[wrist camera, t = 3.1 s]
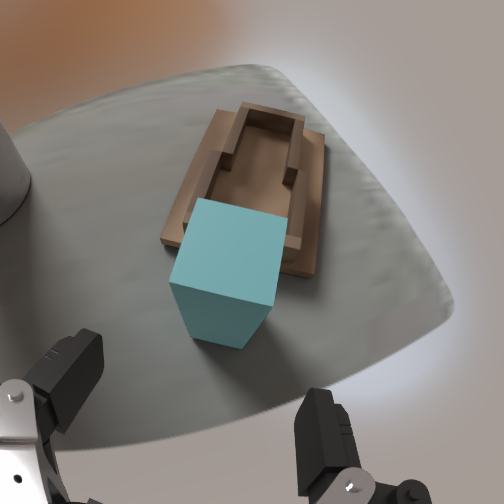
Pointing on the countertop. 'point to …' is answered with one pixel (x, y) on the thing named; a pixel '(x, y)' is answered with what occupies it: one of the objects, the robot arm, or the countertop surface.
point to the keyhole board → (258, 177)
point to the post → (227, 271)
